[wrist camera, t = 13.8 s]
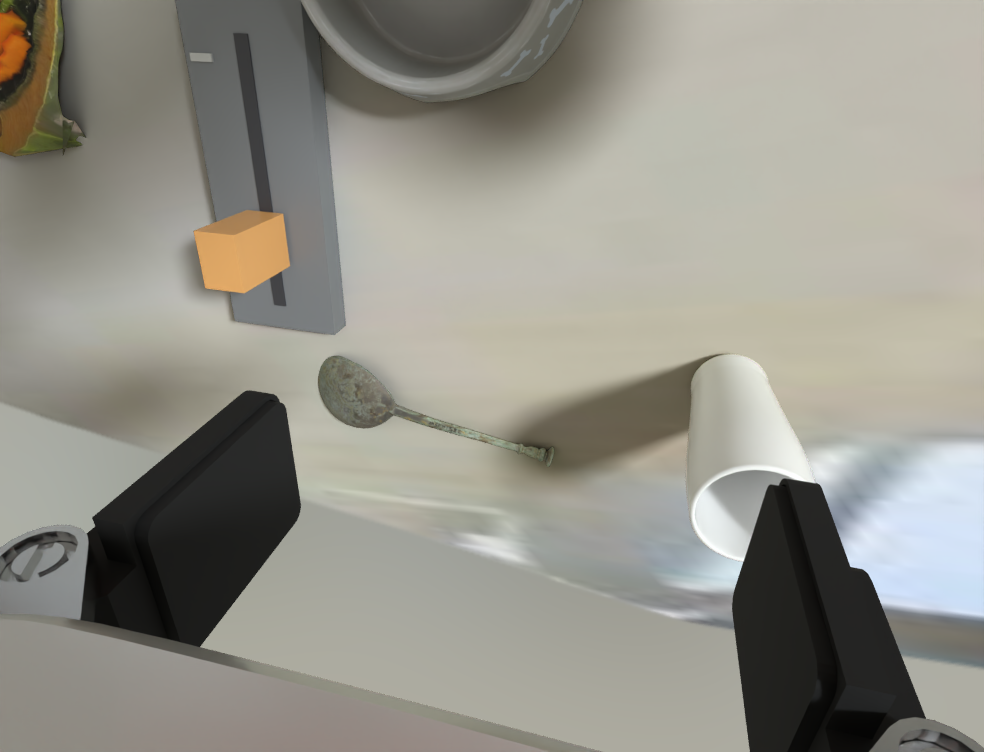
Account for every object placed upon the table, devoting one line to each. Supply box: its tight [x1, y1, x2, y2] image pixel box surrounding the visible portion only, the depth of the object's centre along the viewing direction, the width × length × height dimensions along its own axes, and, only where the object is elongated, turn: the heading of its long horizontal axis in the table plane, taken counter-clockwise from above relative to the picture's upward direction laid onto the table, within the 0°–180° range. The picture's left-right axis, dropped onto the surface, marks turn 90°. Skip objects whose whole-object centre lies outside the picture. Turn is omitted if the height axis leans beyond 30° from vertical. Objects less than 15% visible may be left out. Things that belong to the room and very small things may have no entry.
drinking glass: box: [685, 354, 816, 562], centre depth 39 cm, size 7×7×15 cm
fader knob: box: [194, 210, 290, 293], centre depth 43 cm, size 4×3×6 cm
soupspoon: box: [318, 356, 554, 467], centre depth 52 cm, size 22×3×7 cm
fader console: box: [175, 0, 346, 335], centre depth 45 cm, size 23×9×2 cm, turn 178°
